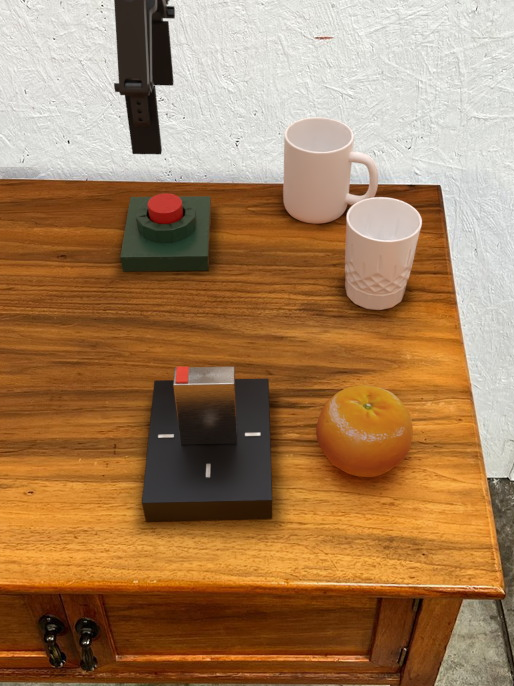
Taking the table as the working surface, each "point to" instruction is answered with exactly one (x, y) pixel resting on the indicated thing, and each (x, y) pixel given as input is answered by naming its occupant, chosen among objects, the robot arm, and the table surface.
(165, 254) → the button block
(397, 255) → the white cup
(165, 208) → the button
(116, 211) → the table surface
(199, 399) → the knob
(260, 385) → the panel
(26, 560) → the table surface
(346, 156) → the cup
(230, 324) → the table surface
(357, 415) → the fruit
